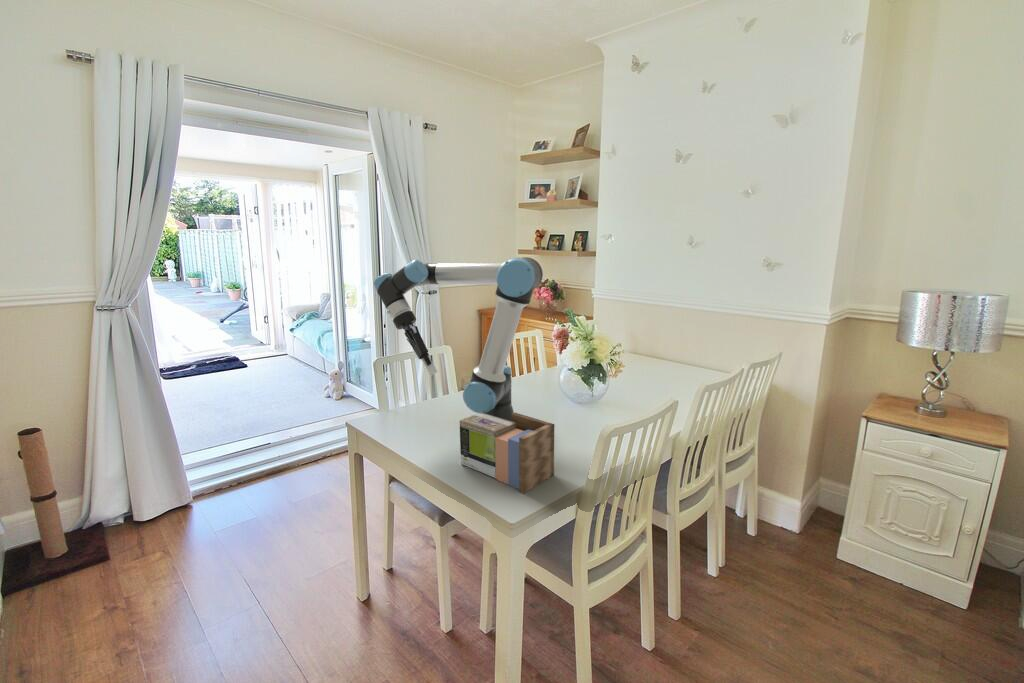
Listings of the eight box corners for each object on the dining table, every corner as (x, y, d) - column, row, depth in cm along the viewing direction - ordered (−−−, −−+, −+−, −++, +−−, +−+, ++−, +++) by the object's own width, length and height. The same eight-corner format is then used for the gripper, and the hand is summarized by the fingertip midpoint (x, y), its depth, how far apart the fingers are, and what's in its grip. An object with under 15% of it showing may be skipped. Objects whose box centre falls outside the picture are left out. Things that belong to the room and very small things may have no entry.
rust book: (515, 468, 145) (515, 428, 143) (528, 473, 142) (528, 432, 139) (495, 479, 139) (495, 437, 136) (508, 484, 135) (508, 441, 133)
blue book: (527, 473, 142) (528, 429, 139) (538, 477, 139) (538, 432, 137) (508, 484, 135) (508, 438, 132) (519, 489, 133) (519, 442, 130)
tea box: (517, 467, 146) (516, 421, 143) (495, 479, 138) (494, 431, 135) (481, 453, 155) (481, 410, 152) (459, 464, 148) (458, 419, 145)
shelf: (515, 460, 150) (515, 412, 147) (553, 475, 141) (554, 424, 137) (484, 476, 140) (483, 425, 137) (523, 493, 130) (523, 439, 127)
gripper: (391, 325, 171) (421, 382, 169) (393, 313, 159) (426, 374, 157) (409, 316, 174) (440, 373, 172) (413, 304, 162) (446, 364, 160)
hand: (433, 373), depth 164 cm, fingers closed
